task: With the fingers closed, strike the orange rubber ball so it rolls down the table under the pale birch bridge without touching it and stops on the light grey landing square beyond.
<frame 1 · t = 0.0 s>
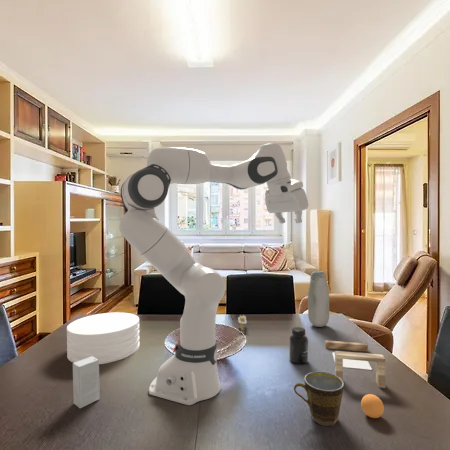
hand: (290, 222, 111), 52 cm above the table, tool tilted 20°, fingers open, 8 cm apart
plate stack: (104, 350, 125), on the table
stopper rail: (346, 348, 123), on the table
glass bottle: (318, 326, 150), on the table
ball: (372, 405, 80), on the table
bridge: (359, 383, 97), on the table
supplement bottle: (298, 361, 113), on the table
skincare box: (86, 402, 88), on the table
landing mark: (350, 360, 112), on the table
ceramic cup: (318, 418, 80), on the table
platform: (242, 329, 148), on the table
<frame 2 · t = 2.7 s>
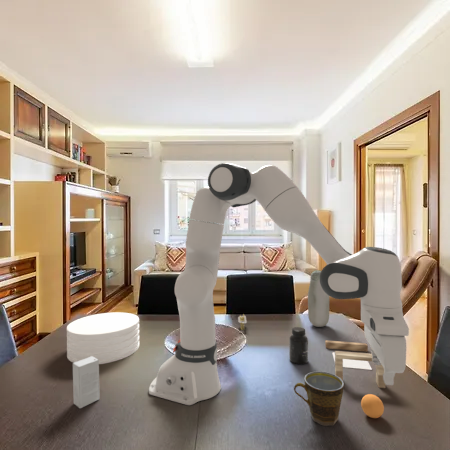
hand: (382, 373, 72), 16 cm above the table, tool pointing down, fingers open, 8 cm apart
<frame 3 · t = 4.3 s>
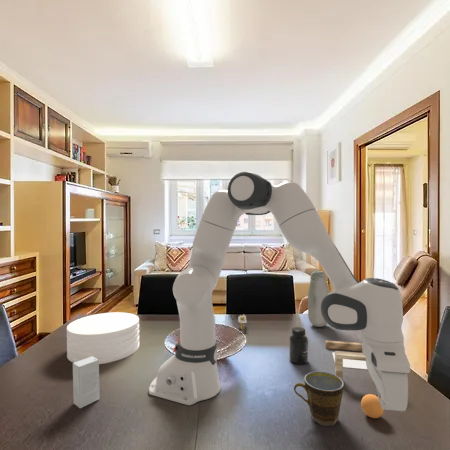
hand: (384, 406, 71), 8 cm above the table, tool pointing down, fingers closed
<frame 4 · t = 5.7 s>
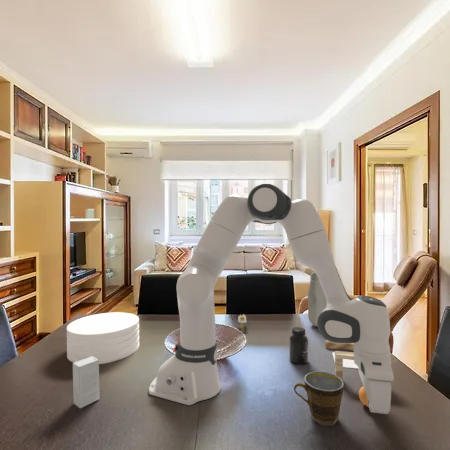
hand: (372, 409, 80), 2 cm above the table, tool pointing down, fingers closed
ball: (369, 396, 85), on the table
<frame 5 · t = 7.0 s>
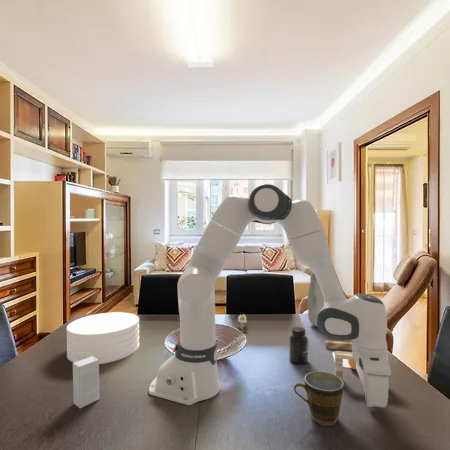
hand: (369, 403, 83), 2 cm above the table, tool pointing down, fingers closed
ball: (356, 361, 106), on the table
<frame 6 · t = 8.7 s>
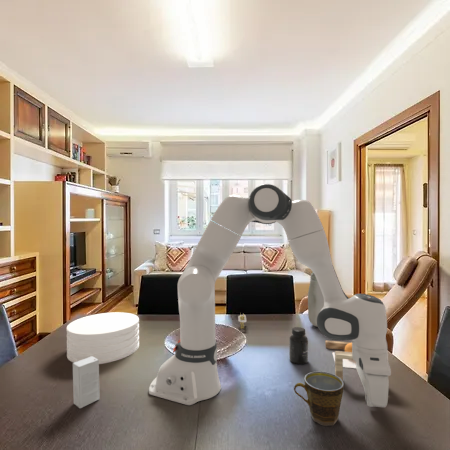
hand: (369, 403, 83), 2 cm above the table, tool pointing down, fingers closed
ball: (352, 350, 115), on the table
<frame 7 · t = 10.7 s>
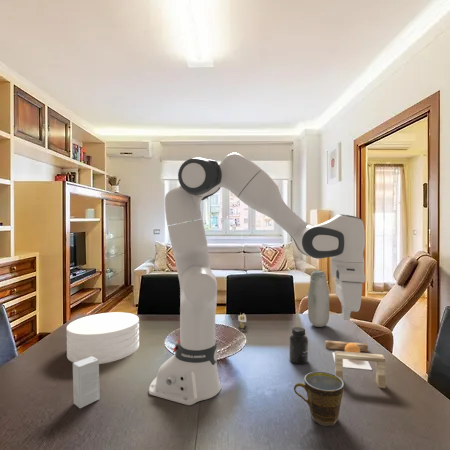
hand: (345, 318, 87), 24 cm above the table, tool pointing down, fingers closed
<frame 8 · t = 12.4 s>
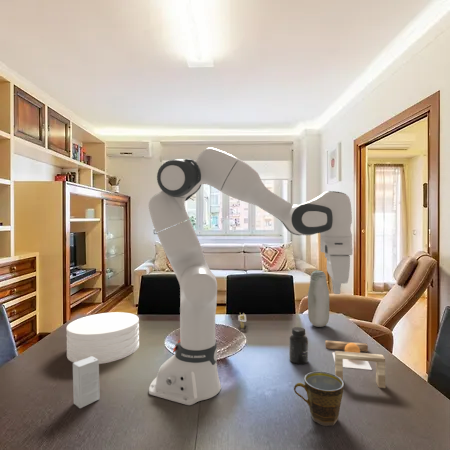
hand: (336, 292, 89), 31 cm above the table, tool pointing down, fingers closed
at the end: ball 3.1 cm from the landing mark (horizontally); ball never touched bridge; ball at rest at the end (0.0 cm/s) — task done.
